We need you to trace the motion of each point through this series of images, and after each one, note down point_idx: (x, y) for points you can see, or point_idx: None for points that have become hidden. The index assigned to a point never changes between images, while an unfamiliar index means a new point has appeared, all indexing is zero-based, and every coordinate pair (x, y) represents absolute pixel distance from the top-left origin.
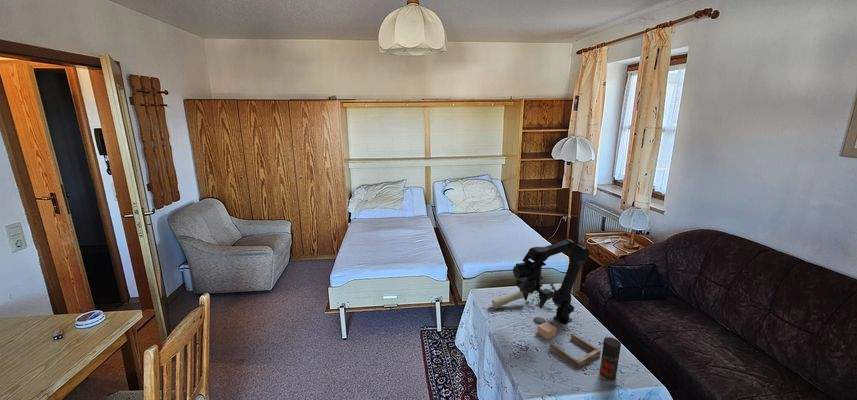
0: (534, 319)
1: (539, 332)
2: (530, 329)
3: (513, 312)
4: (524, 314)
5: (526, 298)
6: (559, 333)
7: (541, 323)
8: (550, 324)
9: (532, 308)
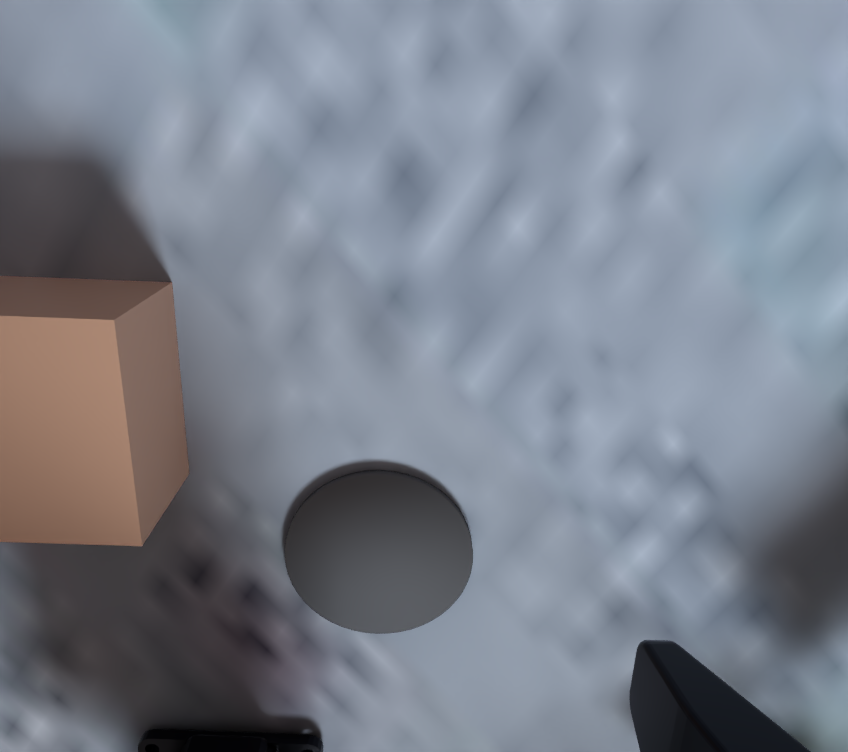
0: (442, 518)
1: (110, 288)
2: (297, 263)
3: (802, 414)
4: (639, 508)
5: (652, 736)
6: None
7: (307, 520)
8: (39, 538)
9: None
